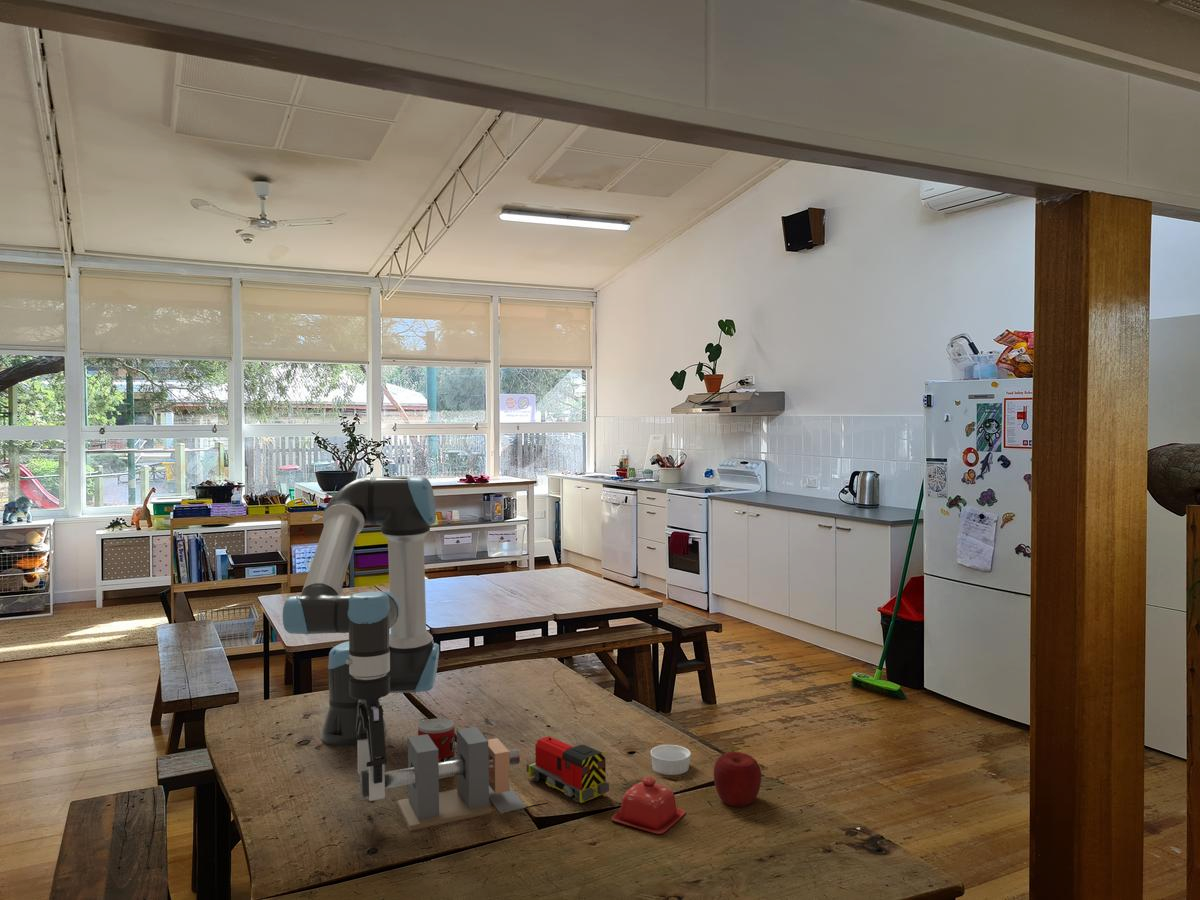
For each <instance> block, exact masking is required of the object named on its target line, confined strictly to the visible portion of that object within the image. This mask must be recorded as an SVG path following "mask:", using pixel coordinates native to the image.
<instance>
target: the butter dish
mask: <svg viewBox="0 0 1200 900" xmlns="http://www.w3.org/2000/svg"><path fill="white" fill-rule="evenodd" d="M656 782H657V781H656V779H655V778H654V777H651V776H645V777H643V779H642V781H641V782H638V783H636V784H634V785H633V786H631V787H630V788H628V789H627V790H626V791H625V793H624V795H623V798H622V801H621V805H620V809H619V810H618V811H617V812H616V813H614V814H613V815H612V816H611V820H612V821H613V822H616V823H620V824H622V825H626V826H630V827H633V828H635V829H640V830H641V831H646V832H649V833H652V834H656V835H662V834H664V833H665V832H667V831H668V830H669V829H670V828H671V827H672V826H674V825H675V824H676V823H677V822H678V821H679V820H680V819H681V818H682V817H683V816H684V815H685V814H686V810H684V809H682V808H678V807H677V802H676V798H675V793H674V792H673V791H672V789H670V788H669V787H667V786H664V785H662V784H658V783H656Z"/></svg>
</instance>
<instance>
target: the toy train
mask: <svg viewBox="0 0 1200 900" xmlns="http://www.w3.org/2000/svg"><path fill="white" fill-rule="evenodd" d="M534 748H535V749H534V750H535V751H534V752H535V760H534V761H531V762H529V763H526V772H527V773H528V777H529V778H531V779H532V780H533V781H535V782H538V781H540V779H541V780H543V781H545V784H546V786H547V785H549V786H550V787H549V786H548V787H549V788H551V787H552V788H551V789H557V790H558V791H561V792H562V793H563V794H564V795H565V796H567V797H569V798H572V797H573V796H574V798H572V800H573V801H575V802H576V803H580V804H581V803H585V802H587V801H590V800H593V799H594V798H597V797H599V796H602V795H605V794H607V793H608V792H610V783H609V782H607V779H606V775H607V774H606V773H607V772H606V755H605V752H602V751H600V750H598V749H595V748H592V747H590V746H588V745H586V744H578V745H576V746H573V745H570V744H567V743H566V742H563V741H560V740H558V739H556V738H553V736H549V735H548V736H545V737H542V738H539V739H537V741H536V744H535V747H534Z"/></svg>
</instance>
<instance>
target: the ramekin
mask: <svg viewBox="0 0 1200 900" xmlns="http://www.w3.org/2000/svg"><path fill="white" fill-rule="evenodd" d="M691 756H692V752H691V751H690V750H689V749H688V748H686V747H684V746H681V745H676V744H660V745H657V746H655V747H653V748H651V750H650V757H651V767H652V770H653V771H654V772H655V773H658V774H661V775H667V776H676V775H681V774H684V773H687V772H688V771H689V767H690V760H691Z"/></svg>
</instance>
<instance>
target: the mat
mask: <svg viewBox="0 0 1200 900" xmlns="http://www.w3.org/2000/svg"><path fill="white" fill-rule="evenodd" d="M489 801H490V802H491V803H492V804H493V806H494V807H495V808H496V810H497V811H498V812H499V814H504V812H505V813H508V812H513V811H517V810H522V809H526V807H527V806H526V805H525V804H524V803H523V802H522V801H521V800H520V799H519V797H518V796H517V795H516V793H515V792H514V791H513V789H512V788H511V786H510V791H507V792H502V793H497V794H495V792H494V791H493V790H492V789H491V787H490V786H489Z"/></svg>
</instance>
